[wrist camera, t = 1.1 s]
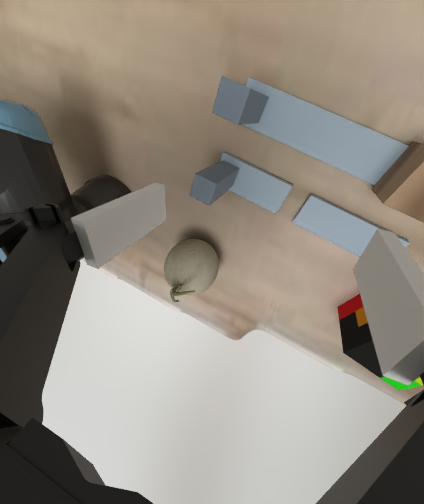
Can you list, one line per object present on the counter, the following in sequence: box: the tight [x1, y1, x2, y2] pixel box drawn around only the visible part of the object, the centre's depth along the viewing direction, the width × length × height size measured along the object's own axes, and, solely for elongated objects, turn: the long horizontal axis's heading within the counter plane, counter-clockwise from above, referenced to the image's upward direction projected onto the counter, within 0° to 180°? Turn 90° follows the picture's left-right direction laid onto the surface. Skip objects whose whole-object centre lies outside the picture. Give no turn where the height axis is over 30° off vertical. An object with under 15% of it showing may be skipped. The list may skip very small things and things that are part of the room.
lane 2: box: [212, 76, 409, 185], centre depth 23 cm, size 30×5×11 cm, turn 70°
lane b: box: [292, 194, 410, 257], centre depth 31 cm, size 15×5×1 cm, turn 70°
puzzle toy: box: [338, 294, 423, 390], centre depth 32 cm, size 10×10×10 cm
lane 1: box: [190, 152, 293, 214], centre depth 30 cm, size 12×5×11 cm, turn 70°
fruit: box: [164, 239, 219, 302], centre depth 40 cm, size 10×12×15 cm
